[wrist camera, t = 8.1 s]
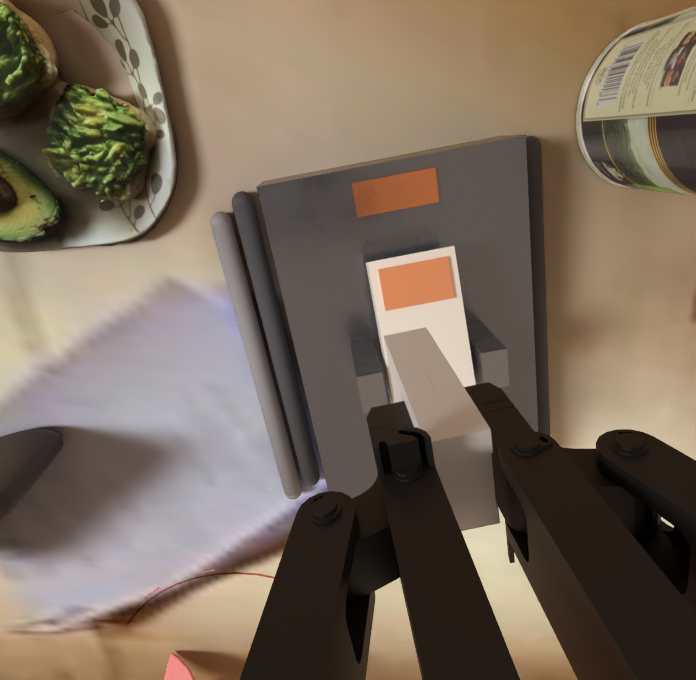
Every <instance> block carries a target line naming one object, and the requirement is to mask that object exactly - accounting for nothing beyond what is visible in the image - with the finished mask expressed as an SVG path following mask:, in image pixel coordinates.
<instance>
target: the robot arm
mask: <svg viewBox="0 0 696 680" xmlns="http://www.w3.org/2000/svg"><path fill="white" fill-rule="evenodd" d="M384 342H385V347H386V353H387V359H388V364H389V370H390V375H391V381H392V387H393V392H394V398H395V403H392V404H387V405H382V406H377V407H372V408H371V409H370V411H369V414H368V416H367V418H366V419H367V424H368V429H369V434H370V438H371V443H372V448H373V453H374V458H375V463H376V467H377V472H378V475H377V478H376V481H375V482H374V484H373V485H372V486H371V487H370V488H369V489H368V490H367V491H365V492H364V493H362V494H360V495H358V496H356V497H354V498H352V499H351V497H350V496H348V495H346V494H344V493H342V492H335V491H329V492H323V493H319V494H317V495H315V496H313V497H310V498H309V499H308V500H307V501H305V502H304V503H303V504H302V505H301V507H300V508H299V510H298V512H297V514H296V517H295V520H294V523H293V525H292V528H291V531H290V534H289V537H288V540H287V543H286V546H285V549H284V552H283V555H282V558H281V561H280V563H279V566H278V569H277V572H276V575H275V578H274V581H273V584H272V587H271V590H270V593H269V596H268V599H267V602H266V604H265V607H264V610H263V613H262V616H261V619H260V622H259V625H258V628H257V631H256V634H255V637H254V640H253V642H252V645H251V648H250V651H249V654H248V657H247V660H246V663H245V666H244V669H243V672H242V675H241V678H240V680H365V678H366V670H367V662H368V654H369V645H370V637H371V629H372V621H373V613H374V604H375V591H376V590H377V589H379V588H381V587H383V586H385V585H387V584H388V583H390V582H392V581H394V580H396V579H398V578H399V577H400V579H401V584H402V589H403V593H404V598H405V602H406V607H407V612H408V616H409V621H410V625H411V630H412V634H413V639H414V644H415V648H416V653H417V657H418V662H419V667H420V671H421V676H422V680H520V678H519V676H518V673H517V671H516V668H515V666H514V663H513V661H512V658H511V656H510V653H509V651H508V648H507V646H506V643H505V641H504V638H503V636H502V633H501V631H500V628H499V626H498V623H497V620H496V618H495V615H494V613H493V610H492V608H491V605H490V603H489V600H488V598H487V595H486V593H485V590H484V588H483V585H482V583H481V580H480V578H479V575H478V573H477V570H476V568H475V565H474V563H473V560H472V558H471V555H470V553H469V550H468V548H467V545H466V543H465V540H464V538H463V535H462V533H461V531H463V530H468V529H473V528H478V527H483V526H487V525H492V524H497V523H500V520H499V510H498V507H499V508H500V510H501V512H502V514H503V516H504V518H505V524H506V535H507V546H508V556H509V561H510V563H513V562H515V560H514V552H515V554H516V556H517V558H518V560H519V562H520V564H521V566H522V568H523V570H524V572H525V574H526V576H527V578H528V580H529V582H530V584H531V586H532V588H533V590H534V592H535V594H536V596H537V598H538V600H539V602H540V604H541V606H542V608H543V610H544V612H545V614H546V616H547V618H548V620H549V622H550V624H551V626H552V628H553V630H554V632H555V634H556V636H557V638H558V640H559V642H560V644H561V646H562V648H563V650H564V652H565V654H566V656H567V658H568V660H569V662H570V665H571V667H572V669H573V671H574V673H575V675H576V677H577V679H578V680H696V461H695V460H694V459H692V458H690V457H688V456H687V455H685V454H683V453H681V452H680V451H678V450H676V449H674V448H673V447H671V446H669V445H667V444H666V443H664V442H662V441H660V440H659V439H657V438H655V437H653V436H651V435H648V434H646V433H644V432H640V431H635V430H614V431H609V432H606V433H604V434H603V435H601V436H600V437H599V438H598V440H597V442H596V449H571V448H563V447H560V446H559V444H558V443H557V442H556V441H555V440H554V439H553V438H551V437H550V436H549V435H546V434H543V433H541V432H535V431H534V430H533V429H532V428H531V426H530V425H529V424H528V422H527V421H526V420H525V418H524V417H523V416H522V415H521V413H520V412H519V411H518V409H517V408H515V406H514V404H513V403H512V402H511V400H509V398H508V397H507V395H506V394H505V393H504V391H503V390H502V389H501V388H499V387H497V386H495V385H493V384H491V383H489V382H486V383H482V384H477V385H472V386H467V387H464V386H463V385H462V383H461V382H460V380H459V378H458V377H457V375H456V374H455V372H454V370H453V369H452V367H451V366H450V364H449V363H448V361H447V359H446V358H445V356H444V355H443V353H442V351H441V350H440V348H439V347H438V345H437V344H436V342H435V340H434V339H433V337H432V336H431V334H430V332H429V331H428V329H427V328H426V327H424V328H419V329H415V330H410V331H405V332H400V333H395V334H391V335H386V336H384ZM661 517H663V518H664V519H665V520H667V521H668V522H670V523H671V524H672V525H674V528H672V527H671V526H669V525H667V524H666V523H664V522H663V521H662V520H661Z"/></svg>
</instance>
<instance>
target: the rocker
mask: <svg viewBox="0 0 696 680" xmlns="http://www.w3.org/2000/svg"><path fill="white" fill-rule="evenodd" d="M366 268H367V273H368V279H369V284H370V290H371V295H372V301H373V306H374V312H375V317H376V323H377V328H378V334H379V339H380V345H381V350H382V356H383V361H384V367H385V372H386V378H387V383H388V389H389V394H390V400H391V404H392V403H395V398H394V392H393V387H392V381H391V375H390V370H389V364H388V359H387V353H386V347H385V342H384V336H386V335H391V334H395V333H400V332H405V331H410V330H415V329H419V328H424V327H426V328H427V329H428V331H429V332H430V334H431V336H432V337H433V339H434V340H435V342H436V344H437V345H438V347H439V348H440V350H441V351H442V353H443V355H444V356H445V358H446V359H447V361H448V363H449V364H450V366H451V367H452V369H453V370H454V372H455V374H456V375H457V377H458V378H459V380H460V382H461V383H462V385H463V386H464V387H467V386H472V385H476V383H475V377H474V370H473V364H472V357H471V351H470V344H469V338H468V331H467V325H466V318H465V312H464V306H463V299H462V293H461V286H460V280H459V273H458V267H457V260H456V254H455V247H454V246H450V247H444V248H439V249H434V250H428V251H423V252H418V253H413V254H407V255H402V256H397V257H392V258H387V259H381V260H376V261H371V262H366Z"/></svg>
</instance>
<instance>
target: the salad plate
mask: <svg viewBox="0 0 696 680" xmlns="http://www.w3.org/2000/svg"><path fill="white" fill-rule="evenodd" d="M67 10H73V11H75V12H76V13H78V14H79V15H80V16H82V17H83V18H84V19H86V20H87V21H88V22H90V23H91V24H92V25H93V26H94V27H95V28H96V29H97V30H98V31H99V32H100V34H101V35H102V36H103V37H104V38H105V39H106V40H107V42H108V43H109V44H110V45H111V46H112V47H113V49H114V50H115V52H116V54H117V55H118V57H119V59H120V61H121V63H122V65H123V67H124V68H125V70H126V72H127V75H128V77H129V80H130V84H131V87H132V89H133V92H134V95H135V99H136V102H137V107H138V108H137V107H135V106H133V105H131V104H130V103H128V102H126V101H123V100H121V99H118V98H116V97H113V96H111V95H109V93H108V92H107V91H106V90H104V89H102V88H100V89H93V88H90V87H87V86H84V85H81V84H77V83H76V84H75V83H73V82H72V81H71V80H70V79H69V77H68V76H67V74H66V73H65V72H64V71H63V69H62V68H61V67H60V66H59V65H58V54H57V51H56V49H55V47H54V45H53V43H52V41H51V39H50V37H49V36H48V34H47V33H46V32H45V31H44V29H43V28H42V24H43V23H44V22H45V21H46V20H47V19H49V18H51V17H52V16H54V15H56V14H58V13H62V12H64V11H67ZM177 169H178V149H177V140H176V135H175V132H174V129H173V126H172V123H171V121H170V117H169V113H168V109H167V104H166V99H165V94H164V90H163V85H162V80H161V76H160V70H159V66H158V63H157V59H156V55H155V50H154V46H153V43H152V40H151V37H150V34H149V30H148V27H147V23H146V19H145V16H144V13H143V10H142V9H141V7H140V6H139V4H138V2H137V0H0V251H3V252H34V251H44V250H55V249H66V248H73V247H87V246H113V245H116V244H119V243H127V242H134V241H137V240H140V239H141V238H143V237H145V236H146V235H147V234H148V233H149V232H150V231H151V230H152V229H153V228H154V227H155V226H156V224H157V223H158V222H159V220H160V219H161V217H162V216H163V214H164V213H165V211H166V210H167V208H168V206H169V204H170V201H171V198H172V196H173V194H174V191H175V187H176V182H177ZM101 200H104V201H103V202H101V203H100V201H101Z"/></svg>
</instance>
